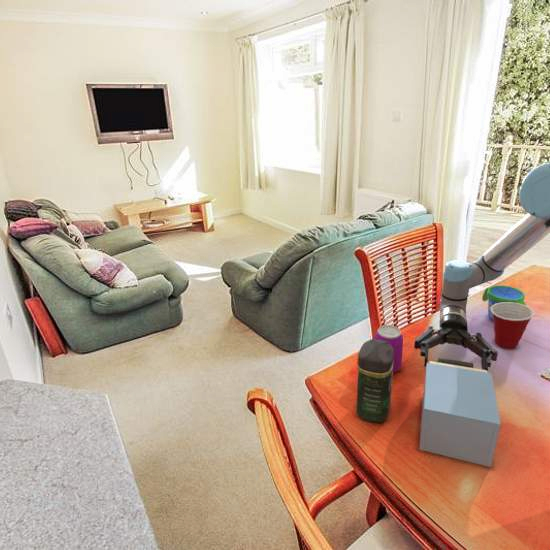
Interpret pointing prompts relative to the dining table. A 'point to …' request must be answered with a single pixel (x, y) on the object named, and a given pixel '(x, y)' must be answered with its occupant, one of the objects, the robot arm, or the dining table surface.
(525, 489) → the dining table surface
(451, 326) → the robot arm
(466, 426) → the cabinet
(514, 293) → the snack cup
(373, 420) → the coffee jar
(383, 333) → the beverage can
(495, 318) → the plastic cup
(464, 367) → the drawer
